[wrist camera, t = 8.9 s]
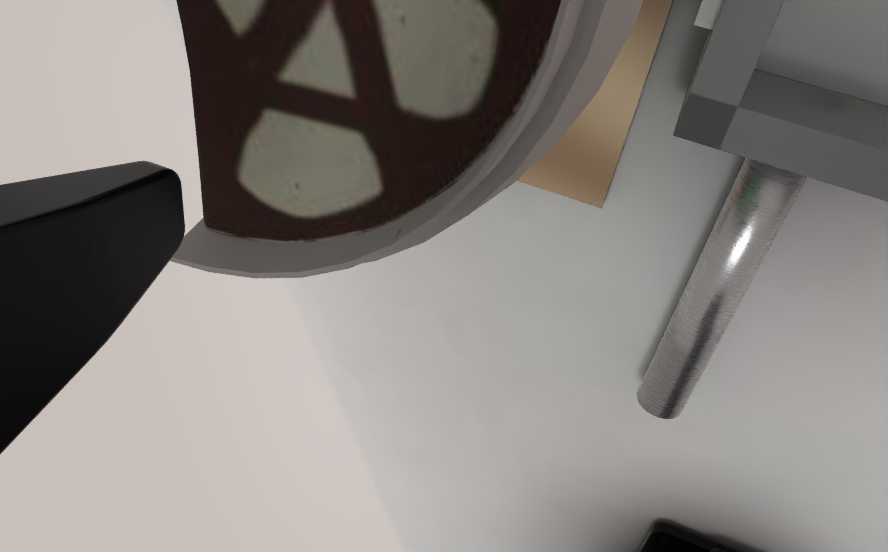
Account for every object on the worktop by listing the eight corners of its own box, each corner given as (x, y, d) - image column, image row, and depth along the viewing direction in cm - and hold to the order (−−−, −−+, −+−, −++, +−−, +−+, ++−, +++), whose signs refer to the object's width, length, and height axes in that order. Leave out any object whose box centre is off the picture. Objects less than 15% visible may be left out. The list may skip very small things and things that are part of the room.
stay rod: (684, 393, 23) (679, 425, 22) (640, 377, 23) (633, 407, 22) (842, 94, 17) (845, 118, 16) (779, 76, 17) (778, 98, 16)
